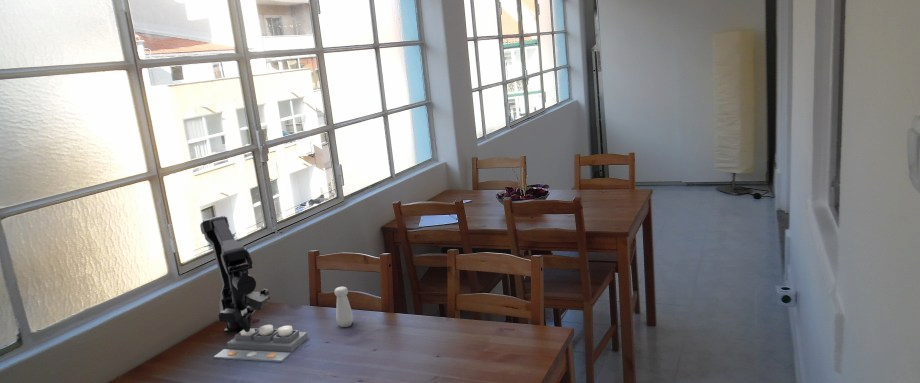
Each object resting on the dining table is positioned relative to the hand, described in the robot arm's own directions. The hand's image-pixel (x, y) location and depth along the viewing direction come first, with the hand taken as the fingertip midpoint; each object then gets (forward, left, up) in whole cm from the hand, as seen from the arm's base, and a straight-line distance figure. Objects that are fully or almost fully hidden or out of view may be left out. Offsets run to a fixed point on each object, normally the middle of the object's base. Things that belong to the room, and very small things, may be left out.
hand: (247, 331), depth 222 cm
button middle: (+7, 0, 0) cm, 7 cm away
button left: (0, 0, -2) cm, 2 cm away
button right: (+14, 0, 0) cm, 14 cm away
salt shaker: (+27, +16, -4) cm, 31 cm away
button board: (+7, 0, -4) cm, 8 cm away
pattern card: (+7, -9, -4) cm, 12 cm away
